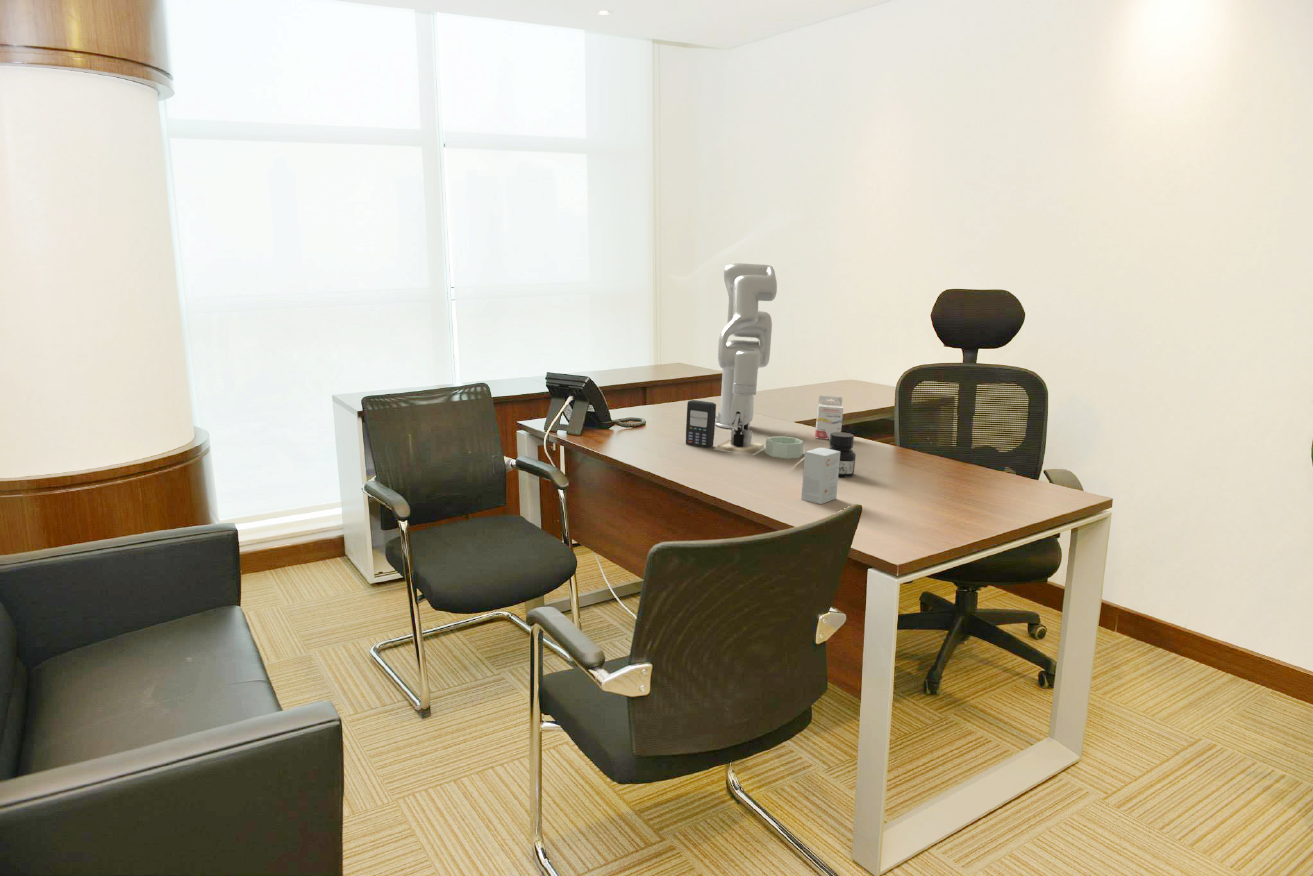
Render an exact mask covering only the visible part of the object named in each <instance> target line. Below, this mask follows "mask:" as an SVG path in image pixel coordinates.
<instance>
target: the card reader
mask: <svg viewBox="0 0 1313 876" xmlns="http://www.w3.org/2000/svg"><path fill="white" fill-rule="evenodd" d="M716 413H717V404H716V403H715V402H713V401H712V402H711V401H704V400H696V399H692V400H688V401H687V407H686V426H685V445H688V446H694V447H698V448H699V447H700V448H705V449H707V448H709V449H711V448H713V447H714V441H715V429H716V428H715V427H716V425H715V422H716V418H715V416H716Z"/></svg>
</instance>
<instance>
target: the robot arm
mask: <svg viewBox="0 0 1313 876" xmlns="http://www.w3.org/2000/svg"><path fill="white" fill-rule="evenodd" d="M776 277H777V276H776V272H775V269H774V267H773V266H772V265H769V264H759V263H758V264H757V263H755V264H754V263H738V262H737V263H729V264H727V265H726V266H725V267H724V270H723V280H724V284H725V287H726V291H727V295H728V306H727V307H728V309H727V320H726V321H727V322H726V324H725V326H724V327H723V328H722V331H721V333H720V335H719V338H718V349H717V350H718V351H717V362H718V365H719V367H720V368H721V369H722V371H721V372H722V374H721V393H720V409H719V412H716V416H715V427H716V426H717V427H720V428H723V429H731V430H732V429H734V440H733V445H734V446H740V447H742V446H743V440H744V434H743V430H744V429H745V430H751V429H750V423H751V422H752V421H753V418H754V404H755V403H754V402H755V401H754V400H755V397H754V396H756V395H757V386H758V384H757V383H758V373H759V372H758V369H759V368H760V369H762V368H765V367H767V366H768V364H769V361H770V355H771V343H772V331H773V329H772V328H773V327H772V326H773V322H772V316H771V315H770V314H769V313H768V312H766V311H762V310H761V311H760V310H759V302H762V301H763V302H772V301H774V300H776V299H775V298H776V296H777V293H778V292H777V290H778V283H777V282H778V281H777V278H776ZM730 336H732V337H736V338H751V339H752V338H755V339H757V340H758V341H757V340H745V339H744V340H740V339H731V340H728V339H729V337H730Z"/></svg>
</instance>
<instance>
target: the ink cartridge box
mask: <svg viewBox="0 0 1313 876" xmlns="http://www.w3.org/2000/svg"><path fill="white" fill-rule="evenodd" d="M818 398H819V399H818V404H817V411H816V423H815V431H814V432H815V434H814V435H815V438H816V437H818V438H830V434H831V433H833V432H842V424H843V415H844V406H843V405H842V404H843V402H842V401H843V397H841V396H831V395H819V397H818ZM831 400H833V401H831ZM818 438H817V439H818Z"/></svg>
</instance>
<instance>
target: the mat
mask: <svg viewBox="0 0 1313 876" xmlns="http://www.w3.org/2000/svg"><path fill="white" fill-rule="evenodd" d="M765 449H766V445H764V447H763V448H761V449H760V450H758V451H757V452H755V453H754V454H748V453H741V452H734V451H727V450H719V449H717V446H716V447H715V448H713V449H712V450H715V451H722V452H729V453H734V454H735V453H736V454H743V455H744V454H745V455H749V456H756V455H757V454H759V453H761V452H762V451H764V450H765Z"/></svg>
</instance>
